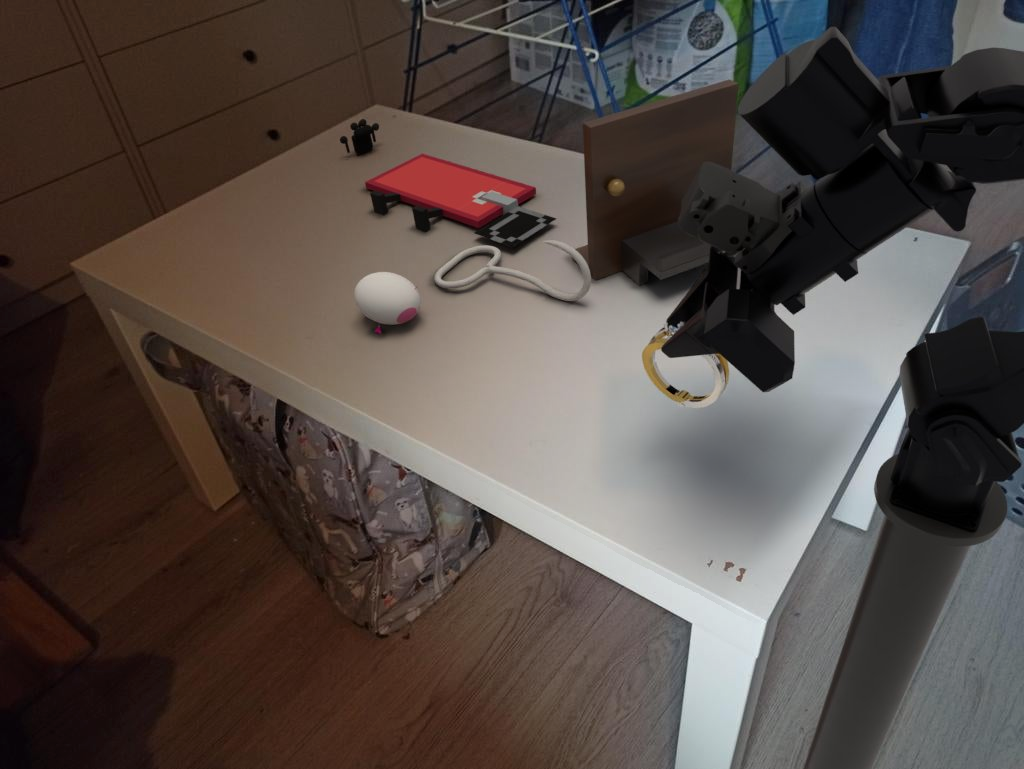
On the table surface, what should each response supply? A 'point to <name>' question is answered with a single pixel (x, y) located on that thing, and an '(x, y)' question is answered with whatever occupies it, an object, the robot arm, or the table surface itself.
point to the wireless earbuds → (361, 137)
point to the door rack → (652, 180)
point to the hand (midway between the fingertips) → (667, 339)
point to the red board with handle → (459, 198)
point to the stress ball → (387, 298)
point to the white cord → (515, 271)
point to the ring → (680, 397)
